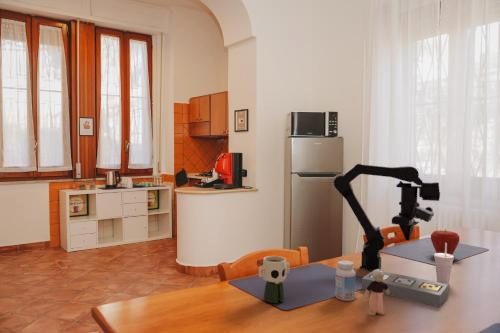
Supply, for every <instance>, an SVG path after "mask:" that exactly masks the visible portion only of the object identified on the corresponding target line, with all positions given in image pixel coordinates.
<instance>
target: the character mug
mask: <svg viewBox="0 0 500 333" xmlns="http://www.w3.org/2000/svg"><path fill="white" fill-rule="evenodd" d="M290 266H291V265H290V262H287V258H286V257H283V256H279V255H267V256H264V257H263V258H262V265H261V266H259V267H258V278H262V279H263V280H264V281H266V282H265V284H264V285H265V286H264V291H263V292H264V293H263V299H264V300H265V301H266V302H268V303H272V304H278V303H279V300H280V303H281V302H284V301H285V291H284V290H285V289H284V285H283V282H284V281H285V280H286V278H287V274H289V273H290ZM283 300H284V301H283Z"/></svg>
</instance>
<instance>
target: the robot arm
mask: <svg viewBox="0 0 500 333" xmlns="http://www.w3.org/2000/svg"><path fill="white" fill-rule="evenodd" d="M419 173H420V172H419V170H418V168H415V167H413V166H412V165H410V166H409V165H405V166H390V167H389V166H380V165H372V164H371V165H370V164H362V163H356V164H355V165H354V167H352V168H351V169H350V170H349V171H348V172H346V173H344V174H340V175H338V176H336V177H335V179H334V180H333V186H334V188H335V189H336V190H337V191H338V192H339V194H340V195H341V196H342V197H343V198H344V199H345V200H346V202H347V204H348V205H349V207H350V209H351V210H352V212H353V213H354V215H355V217H356V220H357V221H358V222H359V225H360V226H361V228H362V229H363V232H364V234H365V239H366V240H367V241H366V242H364V243H363V245H362V246H363V247H362V251H361V265H359V269H362V270H363V269H364V270H368V271H371V272H372V271H374V270H376V269H379V270H381V268H382V257H381V252H380V251H382V250H383V249H384V247H385V234H384V233H383V232H382V230H381V229H380V226H377V227H375V226H374V224H373V223H372V222H371V220H370V218H369V217H368V215H367V213H366V212H365V209H364V208H363V206H362V205H361V203H360V201H359V199H358V198H357V196H356V194H355V192H354V189H353V186H352V183H351V182H353V180H355V179H356V178H357V177H358V176H360V175H368V176H370V175H371V176H376V177H377V176H378V177H385V178H386V177H388V178H392V179H393V178H394V179H397V180H400V181H399V182H398V183H397V184H396V185H395V187H396V188H400V190H401V191H400V201H398V205H400V212H398V214H397V215H395V216H393V217H391V224H393V225H397V226H399V228H400V230H401V232H402V234H403V236H404V239H405V241H408V242H409V241H410V240H411V237H412V234H413V231H414V227H416V226H417V225H418V224H419V223H420V222H419V221H416V219H420V221H424V222H426V223H429V222H431V220H432V218H433V217H434V216H435V215H434V214H435V212H434V211H433V207H431V206H427V207H422V206H420V205H421V204H420V202H419V201H418V197H419V198H421V200H422V201H430V202H432V201H434V202H435V201H436V202H439V201H440V199H441V198H440V196H441V192H440V183H439V182H435V181H434V182H423V180H422V179H421V178H420V177H419ZM412 183H414V184H416V185H412Z"/></svg>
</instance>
